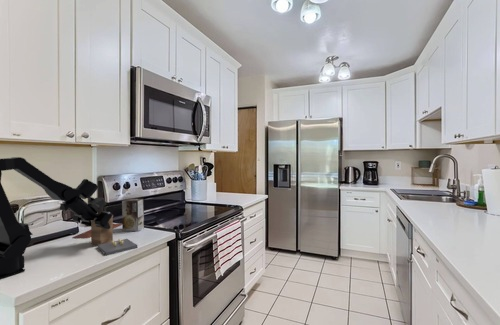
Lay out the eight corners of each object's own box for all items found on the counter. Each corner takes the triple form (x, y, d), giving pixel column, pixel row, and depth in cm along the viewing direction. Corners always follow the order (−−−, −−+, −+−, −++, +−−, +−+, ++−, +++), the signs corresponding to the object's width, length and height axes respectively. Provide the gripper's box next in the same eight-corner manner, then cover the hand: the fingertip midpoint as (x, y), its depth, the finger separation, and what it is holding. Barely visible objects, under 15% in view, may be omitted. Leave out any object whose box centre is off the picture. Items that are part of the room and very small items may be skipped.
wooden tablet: (107, 224, 146) (107, 222, 146) (123, 225, 145) (123, 222, 145) (68, 239, 120) (68, 235, 120) (87, 240, 118) (87, 236, 118)
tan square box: (100, 245, 109) (100, 218, 109) (90, 243, 112) (90, 216, 111) (113, 241, 115) (113, 215, 115) (103, 239, 117) (103, 213, 117)
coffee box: (144, 228, 137) (144, 198, 137) (138, 231, 131) (137, 200, 131) (128, 227, 138) (128, 198, 138) (121, 230, 132) (121, 200, 132)
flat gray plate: (106, 255, 98) (106, 247, 98) (97, 247, 107) (97, 240, 107) (137, 247, 107) (137, 240, 107) (126, 241, 115) (126, 234, 115)
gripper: (108, 193, 106) (130, 214, 116) (79, 191, 113) (102, 210, 123) (90, 216, 99) (115, 236, 109) (60, 211, 106) (86, 231, 116)
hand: (104, 227), depth 114 cm, fingers closed on tan square box, 6 cm apart
